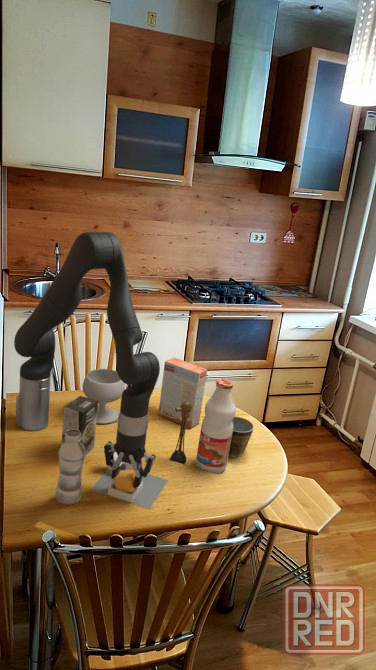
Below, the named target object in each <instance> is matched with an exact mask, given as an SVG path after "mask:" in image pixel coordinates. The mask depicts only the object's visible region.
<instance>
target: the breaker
mask: <svg viewBox="0 0 376 670" xmlns="http://www.w3.org/2000/svg"><path fill="white" fill-rule="evenodd" d="M103 453H104V454H105V452H104V451H103ZM113 454H114V460H115V461H116V459H117V457H118V455H117V453H116V451H115V449H114V450H113ZM121 465H122V462H121V464H120V465H119V466H121ZM109 467H111V466H109Z"/></svg>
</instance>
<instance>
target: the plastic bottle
mask: <svg viewBox="0 0 376 670" xmlns="http://www.w3.org/2000/svg"><path fill="white" fill-rule="evenodd" d="M80 441H81V432H80V431H79V430H75V429H71V430H67V431H66V433H65V442H64V443H63V444H62V443H61V445H60V446H59V448H58V449H59V450H58V462H59V475H58V480H57V481H58V482H57V485H56V489H55V499H56V501H57V502H58V503H60V504H62V505H66V506H68V505H74V504H77V503H79V501H80V500H81V498H82V495H83V486H82V473H83V472H82V471H83V465H84V461H85V457H86V455H85V453H86V451H85V447H84V446H83V444H82V443H81V442H80Z"/></svg>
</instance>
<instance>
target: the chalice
mask: <svg viewBox="0 0 376 670" xmlns="http://www.w3.org/2000/svg"><path fill="white" fill-rule="evenodd" d="M81 389H82V392H83V394H84V395H85V397H87V398H91V399H94V400H97V401H98V408H97V420H96V424H102V425H104V424H112V423H114V422H116V421H118V418H119V414H120V412H118V411H117V410H116V409H114V408H112V407H109V406H106V405H107V404H108V403H113V402H115V401H116V402H117V400H120V399H121V397H122V393H123V391H124V390H125V389H126V386H125V383H124V382H123V381H122V380H121V379H120V378H119V376H118V373H117V370H113V369H108V368H96V369H93V370H90V371H89V372H88V373H87V374H86V375H85V377H84V379H83V381H82V388H81Z"/></svg>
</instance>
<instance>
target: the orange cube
mask: <svg viewBox="0 0 376 670" xmlns="http://www.w3.org/2000/svg"><path fill="white" fill-rule="evenodd" d="M135 476H136V475H135V471H134V470H123V471H120V473H119V474H118V475H117V476H116V477H115V478H114V479H113V480H114V484H115V487H116V489H117V490H120V491H123V492H126V493H128V492H133V491H134V489H135V488H134V479H135Z"/></svg>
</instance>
